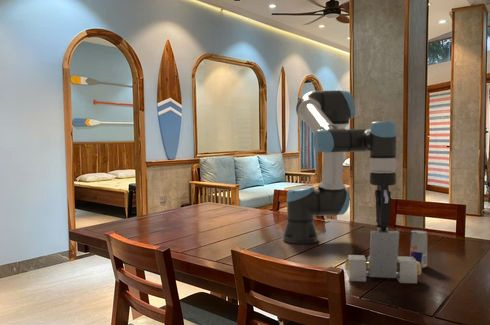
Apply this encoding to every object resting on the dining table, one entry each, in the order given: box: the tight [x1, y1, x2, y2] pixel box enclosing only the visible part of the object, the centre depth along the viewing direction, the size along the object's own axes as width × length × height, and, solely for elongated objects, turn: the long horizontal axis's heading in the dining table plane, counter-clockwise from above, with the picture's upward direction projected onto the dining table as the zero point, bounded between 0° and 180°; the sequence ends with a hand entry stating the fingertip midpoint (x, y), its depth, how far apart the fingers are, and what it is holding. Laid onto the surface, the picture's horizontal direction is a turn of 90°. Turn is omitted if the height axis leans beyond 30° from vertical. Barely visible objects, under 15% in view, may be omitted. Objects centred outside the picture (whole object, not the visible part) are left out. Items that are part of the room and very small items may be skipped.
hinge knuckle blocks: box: [346, 254, 418, 284], centre depth 130 cm, size 20×12×7 cm, turn 81°
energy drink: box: [409, 229, 428, 269], centre depth 140 cm, size 5×5×12 cm
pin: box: [344, 260, 422, 275], centre depth 127 cm, size 22×4×4 cm, turn 81°
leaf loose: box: [366, 230, 400, 279], centre depth 125 cm, size 8×16×5 cm
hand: (382, 247), depth 125 cm, fingers closed
